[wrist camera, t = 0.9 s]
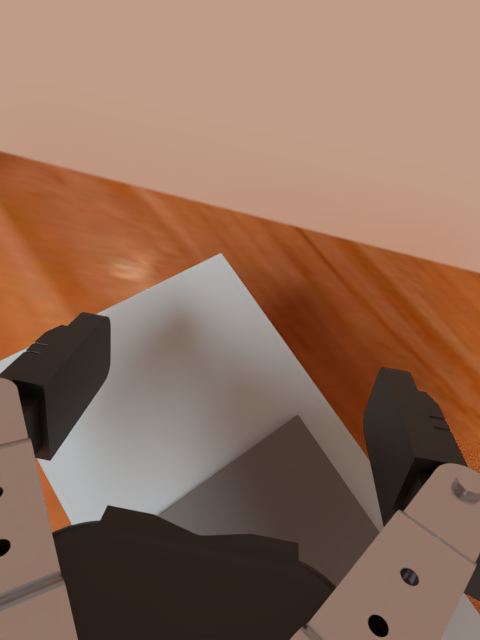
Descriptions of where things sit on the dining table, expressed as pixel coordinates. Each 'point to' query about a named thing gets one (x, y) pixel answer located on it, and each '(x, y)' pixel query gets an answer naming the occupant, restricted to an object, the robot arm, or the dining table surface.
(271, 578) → the robot arm
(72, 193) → the dining table surface
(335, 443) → the bridge
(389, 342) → the dining table surface
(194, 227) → the dining table surface
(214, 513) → the pad
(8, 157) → the dining table surface
